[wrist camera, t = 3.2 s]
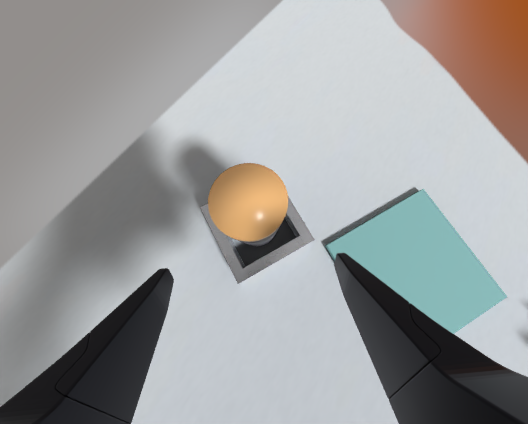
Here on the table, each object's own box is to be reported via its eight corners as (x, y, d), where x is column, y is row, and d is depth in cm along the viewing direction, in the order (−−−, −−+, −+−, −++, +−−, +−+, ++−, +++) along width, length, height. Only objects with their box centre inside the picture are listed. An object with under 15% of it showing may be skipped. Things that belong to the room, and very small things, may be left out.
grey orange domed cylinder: (249, 253, 20) (230, 256, 10) (231, 219, 21) (194, 185, 10) (283, 234, 21) (303, 215, 10) (264, 200, 22) (263, 150, 11)
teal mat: (398, 364, 18) (402, 368, 17) (325, 245, 20) (326, 245, 20) (499, 295, 19) (507, 296, 19) (419, 190, 22) (423, 189, 21)
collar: (241, 279, 20) (238, 283, 17) (207, 212, 21) (200, 207, 19) (308, 241, 20) (314, 239, 18) (271, 178, 22) (272, 169, 20)
